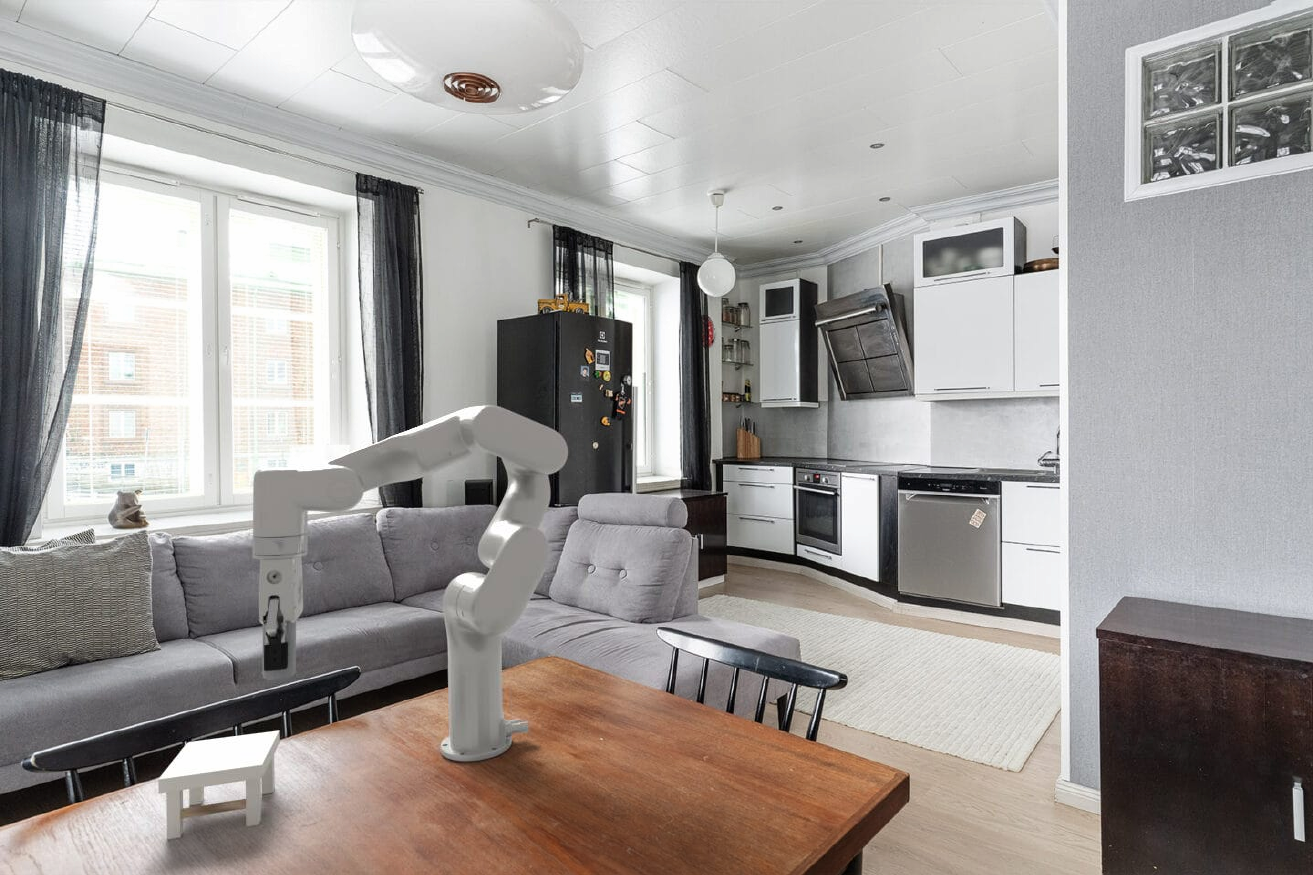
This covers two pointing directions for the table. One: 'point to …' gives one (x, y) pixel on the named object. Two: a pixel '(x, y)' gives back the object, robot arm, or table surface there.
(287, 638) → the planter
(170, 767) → the stool
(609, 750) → the table surface
